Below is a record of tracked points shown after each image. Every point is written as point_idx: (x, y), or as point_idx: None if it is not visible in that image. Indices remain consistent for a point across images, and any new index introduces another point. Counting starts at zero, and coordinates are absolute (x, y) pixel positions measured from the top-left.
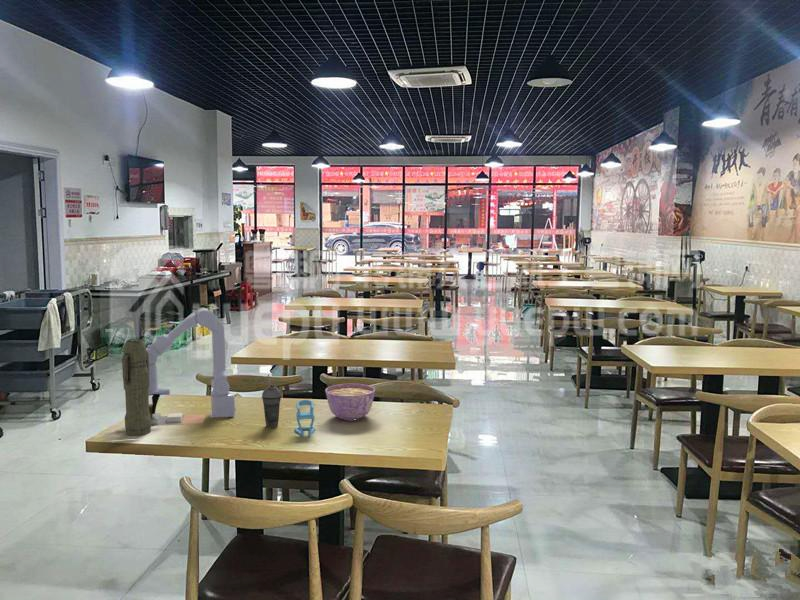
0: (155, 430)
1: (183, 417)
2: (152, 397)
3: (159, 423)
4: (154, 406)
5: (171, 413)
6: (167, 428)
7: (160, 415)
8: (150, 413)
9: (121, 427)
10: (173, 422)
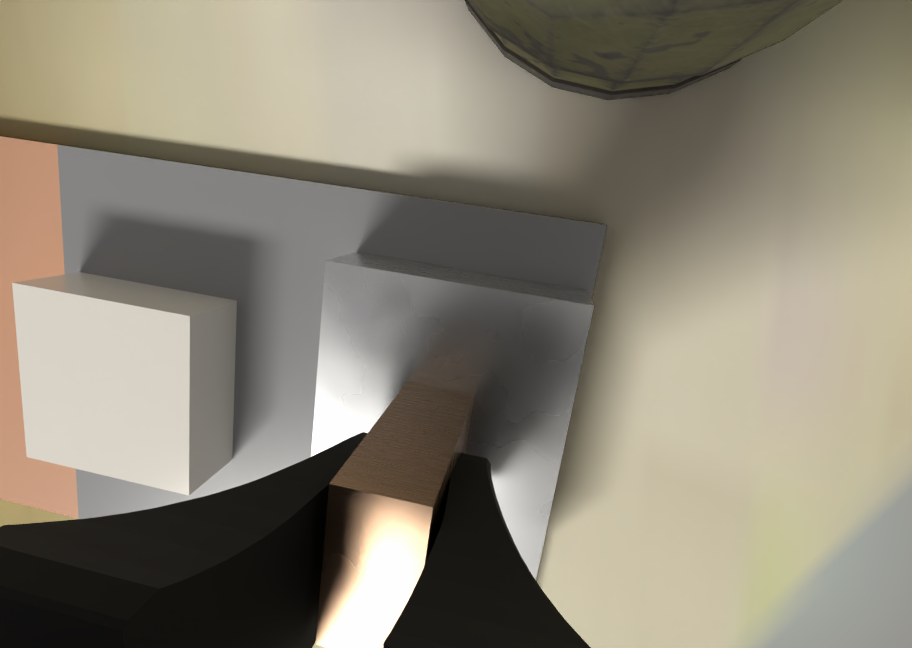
0: (382, 3)
1: None
2: (95, 614)
3: None
4: (281, 480)
5: (157, 486)
6: (227, 60)
7: None
8: (415, 416)
9: (877, 340)
10: (162, 262)
